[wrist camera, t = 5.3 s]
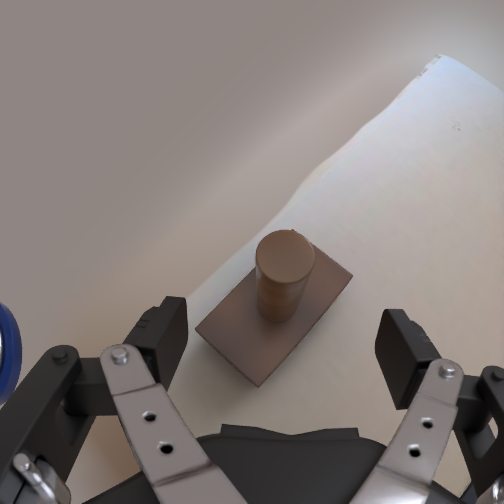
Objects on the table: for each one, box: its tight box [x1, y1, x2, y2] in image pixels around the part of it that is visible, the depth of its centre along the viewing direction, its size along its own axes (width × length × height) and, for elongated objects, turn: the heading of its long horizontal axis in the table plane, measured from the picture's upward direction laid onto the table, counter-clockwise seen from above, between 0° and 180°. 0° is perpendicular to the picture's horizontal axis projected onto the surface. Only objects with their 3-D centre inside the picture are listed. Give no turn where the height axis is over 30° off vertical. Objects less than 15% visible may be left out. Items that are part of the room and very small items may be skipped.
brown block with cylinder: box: [195, 229, 353, 388], centre depth 18 cm, size 10×5×10 cm, turn 138°
